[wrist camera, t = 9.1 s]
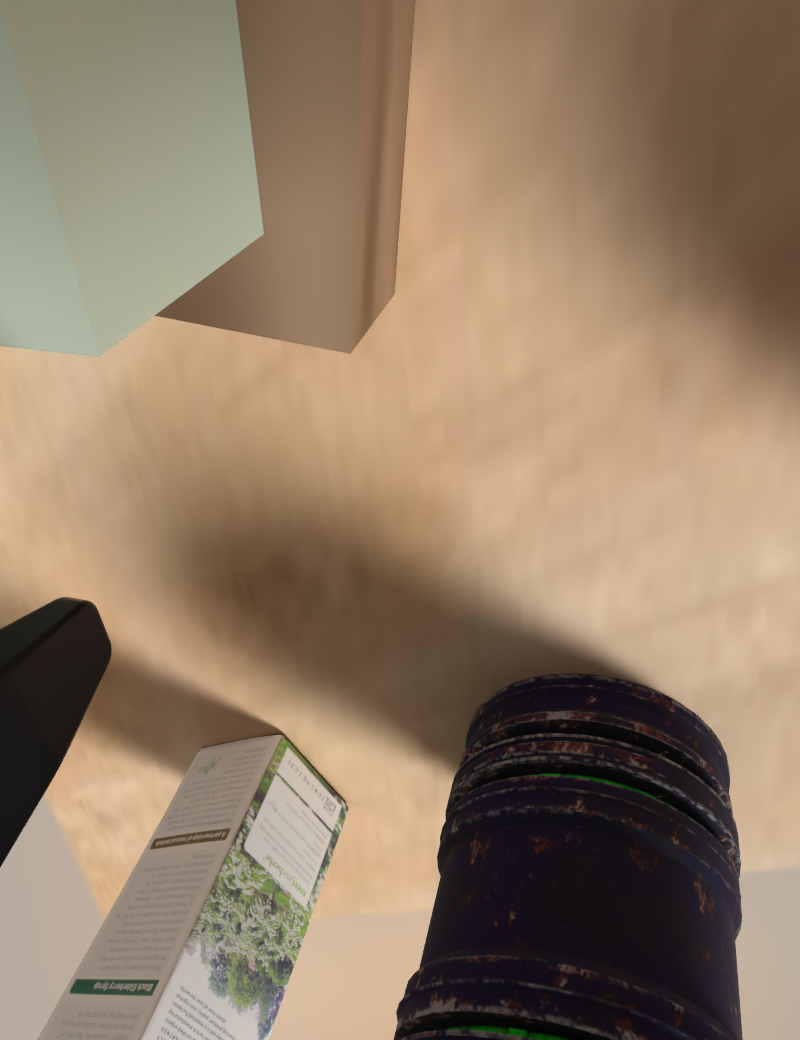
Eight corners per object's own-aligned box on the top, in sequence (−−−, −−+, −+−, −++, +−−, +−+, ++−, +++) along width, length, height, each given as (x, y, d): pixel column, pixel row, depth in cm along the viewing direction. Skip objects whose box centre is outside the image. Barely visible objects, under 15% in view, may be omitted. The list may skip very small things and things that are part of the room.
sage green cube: (225, -77, 12) (-26, -88, 8) (263, 233, 15) (99, 357, 11) (-29, -70, 13) (-383, -77, 9) (54, 219, 16) (-178, 325, 12)
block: (432, -178, 14) (369, -210, 11) (398, 289, 20) (350, 353, 17) (9, -209, 15) (-151, -245, 12) (91, 234, 21) (-5, 284, 18)
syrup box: (195, 746, 36) (-11, 1107, 25) (286, 728, 33) (97, 1130, 22) (266, 816, 38) (106, 1174, 27) (356, 806, 35) (218, 1204, 24)
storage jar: (415, 716, 30) (265, 1196, 18) (631, 635, 24) (607, 1254, 13) (562, 852, 33) (511, 1336, 22) (785, 808, 27) (876, 1433, 16)
